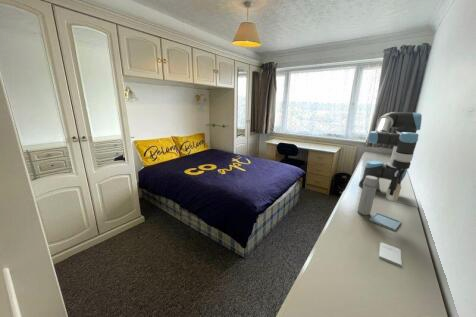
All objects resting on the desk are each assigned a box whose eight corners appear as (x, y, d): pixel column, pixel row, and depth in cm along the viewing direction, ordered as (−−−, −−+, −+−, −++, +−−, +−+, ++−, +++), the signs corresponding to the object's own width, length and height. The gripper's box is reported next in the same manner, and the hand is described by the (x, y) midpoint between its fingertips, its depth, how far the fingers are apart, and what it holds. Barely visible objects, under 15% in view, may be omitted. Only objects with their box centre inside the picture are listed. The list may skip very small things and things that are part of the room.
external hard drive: (378, 258, 89) (379, 244, 99) (401, 268, 85) (400, 251, 94) (379, 255, 89) (380, 241, 98) (402, 265, 84) (401, 249, 94)
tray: (376, 213, 126) (376, 211, 126) (400, 223, 117) (401, 221, 116) (368, 220, 118) (369, 218, 118) (394, 231, 109) (395, 229, 108)
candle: (383, 197, 115) (387, 181, 112) (389, 195, 116) (393, 180, 114) (393, 201, 110) (398, 185, 107) (399, 200, 112) (404, 184, 109)
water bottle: (356, 208, 132) (364, 174, 125) (370, 212, 128) (379, 176, 121) (356, 214, 124) (364, 178, 117) (371, 218, 120) (380, 181, 113)
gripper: (398, 156, 115) (388, 191, 121) (389, 161, 104) (378, 200, 110) (414, 159, 109) (403, 196, 116) (406, 165, 98) (395, 205, 105)
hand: (391, 198), depth 113 cm, fingers closed on candle, 5 cm apart
